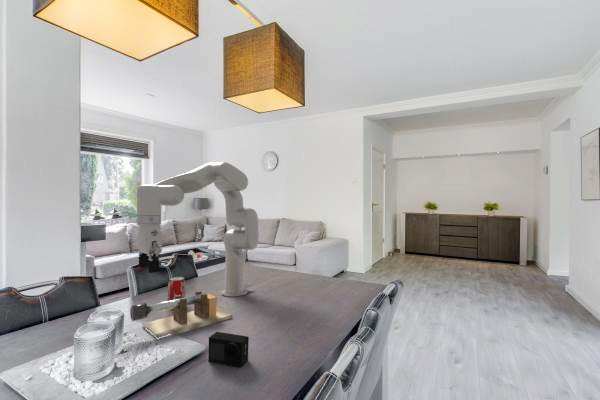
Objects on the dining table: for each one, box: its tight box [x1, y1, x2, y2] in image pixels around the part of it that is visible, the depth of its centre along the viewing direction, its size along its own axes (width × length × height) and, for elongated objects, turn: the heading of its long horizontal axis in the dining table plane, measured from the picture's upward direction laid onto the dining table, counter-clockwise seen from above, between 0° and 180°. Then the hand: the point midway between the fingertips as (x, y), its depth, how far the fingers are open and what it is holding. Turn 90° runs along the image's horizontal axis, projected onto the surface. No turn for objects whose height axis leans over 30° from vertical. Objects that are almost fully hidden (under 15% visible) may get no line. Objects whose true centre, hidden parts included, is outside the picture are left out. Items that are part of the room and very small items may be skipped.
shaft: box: [129, 294, 201, 322], centre depth 106 cm, size 24×5×5 cm, turn 135°
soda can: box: [167, 276, 186, 301], centre depth 128 cm, size 7×7×12 cm
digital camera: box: [208, 331, 249, 369], centre depth 84 cm, size 10×5×7 cm, turn 74°
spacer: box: [206, 292, 218, 317], centre depth 117 cm, size 3×7×7 cm, turn 45°
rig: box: [142, 290, 233, 338], centre depth 112 cm, size 28×14×10 cm, turn 135°
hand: (148, 269), depth 104 cm, fingers open, 9 cm apart
